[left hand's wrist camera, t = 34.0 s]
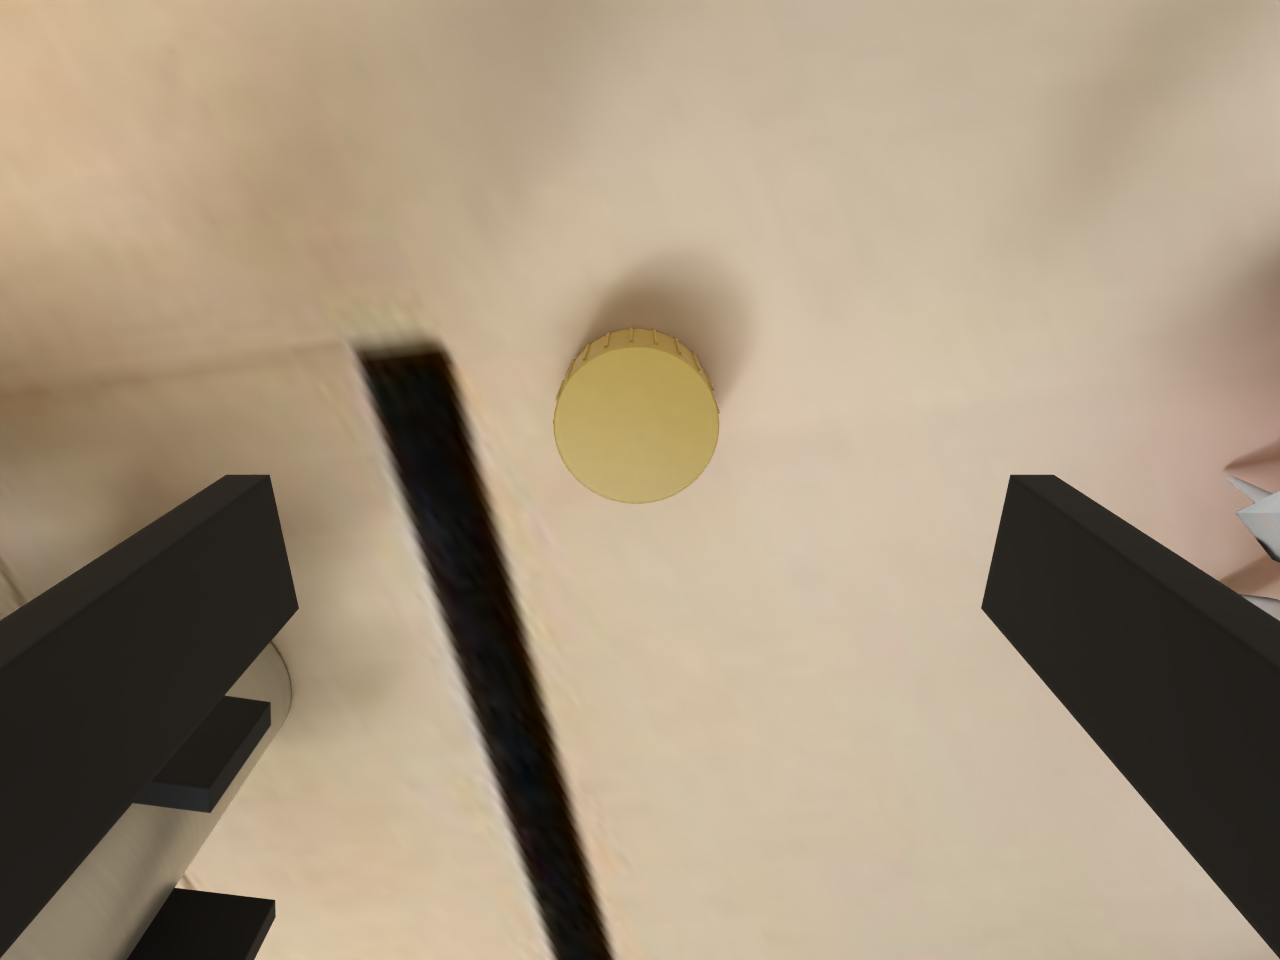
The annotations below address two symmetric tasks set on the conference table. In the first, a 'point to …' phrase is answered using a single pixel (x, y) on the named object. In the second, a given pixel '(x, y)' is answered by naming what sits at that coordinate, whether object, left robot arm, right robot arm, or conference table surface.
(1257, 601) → the fish
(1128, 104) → the conference table surface
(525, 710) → the conference table surface
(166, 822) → the bottle
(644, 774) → the conference table surface
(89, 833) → the left robot arm
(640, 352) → the cap
